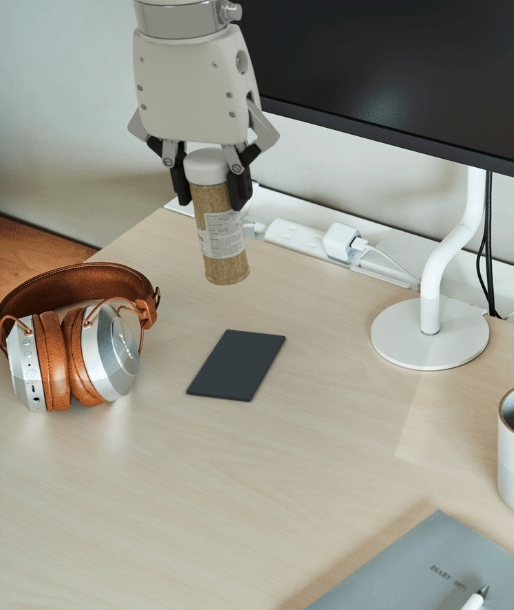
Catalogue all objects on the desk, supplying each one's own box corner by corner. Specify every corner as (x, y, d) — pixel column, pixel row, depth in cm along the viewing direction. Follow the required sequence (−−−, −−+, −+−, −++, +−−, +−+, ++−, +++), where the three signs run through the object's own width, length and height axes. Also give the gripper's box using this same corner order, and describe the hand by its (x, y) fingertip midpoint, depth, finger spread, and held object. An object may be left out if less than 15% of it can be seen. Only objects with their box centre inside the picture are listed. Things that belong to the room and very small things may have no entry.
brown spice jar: (205, 266, 95) (182, 147, 88) (250, 261, 96) (231, 143, 89) (205, 290, 92) (182, 169, 84) (252, 284, 93) (233, 164, 85)
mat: (186, 394, 96) (185, 391, 96) (227, 331, 105) (226, 328, 105) (250, 402, 96) (249, 399, 95) (285, 338, 104) (285, 335, 104)
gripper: (292, 6, 81) (312, 191, 91) (111, -6, 83) (151, 176, 93) (261, 35, 74) (286, 230, 85) (67, 21, 77) (115, 212, 87)
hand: (215, 200), depth 89 cm, fingers closed on brown spice jar, 4 cm apart
